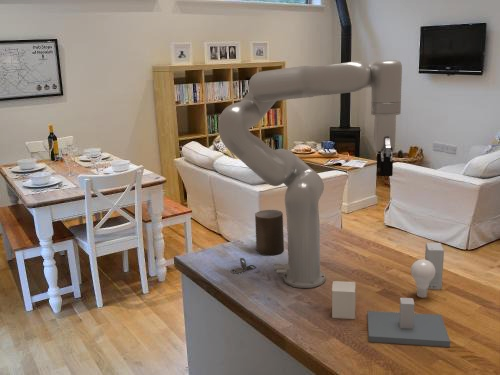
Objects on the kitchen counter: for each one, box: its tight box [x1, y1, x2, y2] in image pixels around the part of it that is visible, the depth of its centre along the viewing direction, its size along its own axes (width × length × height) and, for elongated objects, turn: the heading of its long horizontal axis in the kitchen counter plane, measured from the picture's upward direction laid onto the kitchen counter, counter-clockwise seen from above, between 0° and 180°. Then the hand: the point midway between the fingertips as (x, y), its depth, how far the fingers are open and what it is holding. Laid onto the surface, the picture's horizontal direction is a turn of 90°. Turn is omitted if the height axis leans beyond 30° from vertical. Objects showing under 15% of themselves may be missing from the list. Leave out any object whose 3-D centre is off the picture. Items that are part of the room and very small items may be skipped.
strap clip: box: [230, 257, 257, 275], centre depth 159 cm, size 8×3×4 cm, turn 122°
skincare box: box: [424, 242, 445, 290], centre depth 142 cm, size 6×4×12 cm
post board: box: [366, 297, 451, 348], centre depth 120 cm, size 18×12×8 cm, turn 79°
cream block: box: [331, 280, 356, 320], centre depth 129 cm, size 6×6×8 cm
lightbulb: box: [410, 258, 436, 299], centre depth 135 cm, size 6×6×11 cm
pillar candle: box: [254, 209, 285, 257], centre depth 172 cm, size 10×10×15 cm
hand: (384, 171), depth 135 cm, fingers open, 9 cm apart
